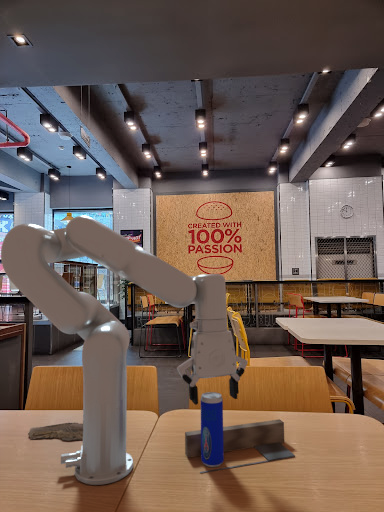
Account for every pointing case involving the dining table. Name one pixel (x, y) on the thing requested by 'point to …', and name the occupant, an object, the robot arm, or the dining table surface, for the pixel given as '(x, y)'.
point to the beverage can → (212, 429)
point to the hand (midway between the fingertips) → (214, 399)
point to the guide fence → (246, 441)
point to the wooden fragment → (58, 432)
